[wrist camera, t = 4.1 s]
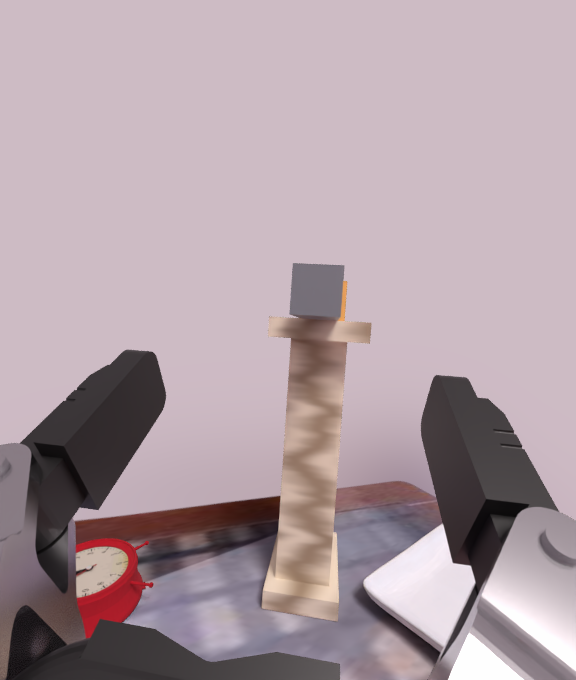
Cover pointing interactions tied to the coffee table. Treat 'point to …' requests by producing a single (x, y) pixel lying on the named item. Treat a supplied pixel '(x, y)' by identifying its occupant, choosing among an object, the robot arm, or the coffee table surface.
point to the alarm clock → (107, 581)
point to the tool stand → (310, 467)
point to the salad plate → (423, 588)
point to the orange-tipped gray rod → (318, 292)
